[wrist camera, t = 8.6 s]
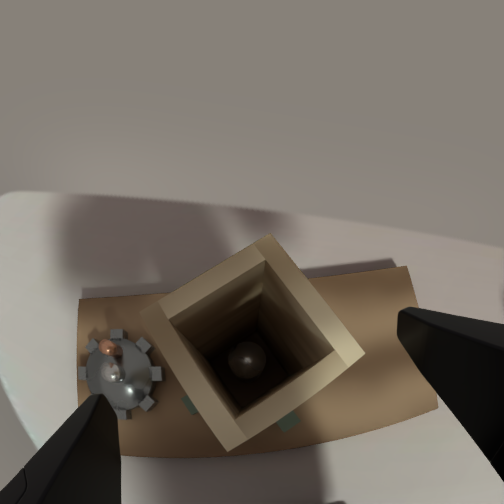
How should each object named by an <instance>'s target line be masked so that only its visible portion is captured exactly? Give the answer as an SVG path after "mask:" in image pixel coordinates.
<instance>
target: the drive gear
mask: <svg viewBox="0 0 504 504" xmlns="http://www.w3.org/2000/svg"><path fill="white" fill-rule="evenodd" d="M85 348H86V349H87V350H88V351H89V352H90V356H89V358H88V361H87V364H86V367H79V366H78V380H83V381H87V384H88V387H89V389H90V391H91V395H92V394H99V393H102V394H104V395H105V396H106V398H107V400H108V401H109V403H110V404H111V406H112V408H113V409H114V411H115V412H116V415H117V418H118V419H121V420H129V419H132V413H131V410H132V409H136V408H138V407H141V408H142V409H143V410H145V411H146V412H149V411H151V410H152V409H153V408H154V407H155V406H156V405H157V404H158V403H159V401H158V400H156V399H155V398H154V397H153V396H152V394H153V392H154V389H155V386H156V382H166V378H165V368H163V367H161V366H159V367H155V365H154V363H153V360H152V359H151V357H150V356H149V355H150V354H151V353H152V352H153V351H154V350H155V349H156V348H155V347H154V346H153V345H151V344H150V343H149V342H148V341H147V340H146V339H145V338H143V337H141V338H140V339H139V340H138V341H137V342H136V343H133V342H131V341H129V340H128V332H127V331H125V330H123V329H110V339H108V340H107V339H103V340H102V341H98V340H96V339H94V338H92V340H91V341H90V342H89V343H88V344H87V345H86V347H85Z"/></svg>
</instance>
